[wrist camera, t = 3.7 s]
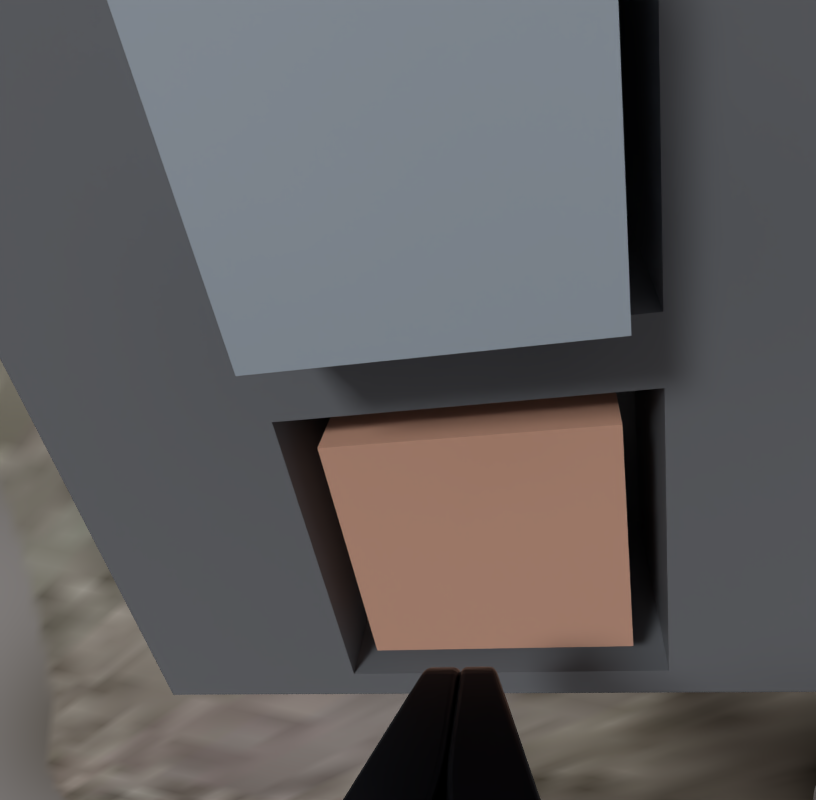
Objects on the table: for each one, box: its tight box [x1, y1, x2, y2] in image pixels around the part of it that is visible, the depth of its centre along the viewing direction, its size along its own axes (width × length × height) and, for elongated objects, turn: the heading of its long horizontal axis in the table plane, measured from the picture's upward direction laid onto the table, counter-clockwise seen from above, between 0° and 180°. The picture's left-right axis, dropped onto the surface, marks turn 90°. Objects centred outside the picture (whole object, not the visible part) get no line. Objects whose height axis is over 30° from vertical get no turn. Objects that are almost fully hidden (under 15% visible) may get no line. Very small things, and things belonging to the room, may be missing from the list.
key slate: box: [107, 0, 631, 376], centre depth 7 cm, size 4×4×2 cm
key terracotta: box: [318, 392, 633, 650], centre depth 12 cm, size 4×4×2 cm
